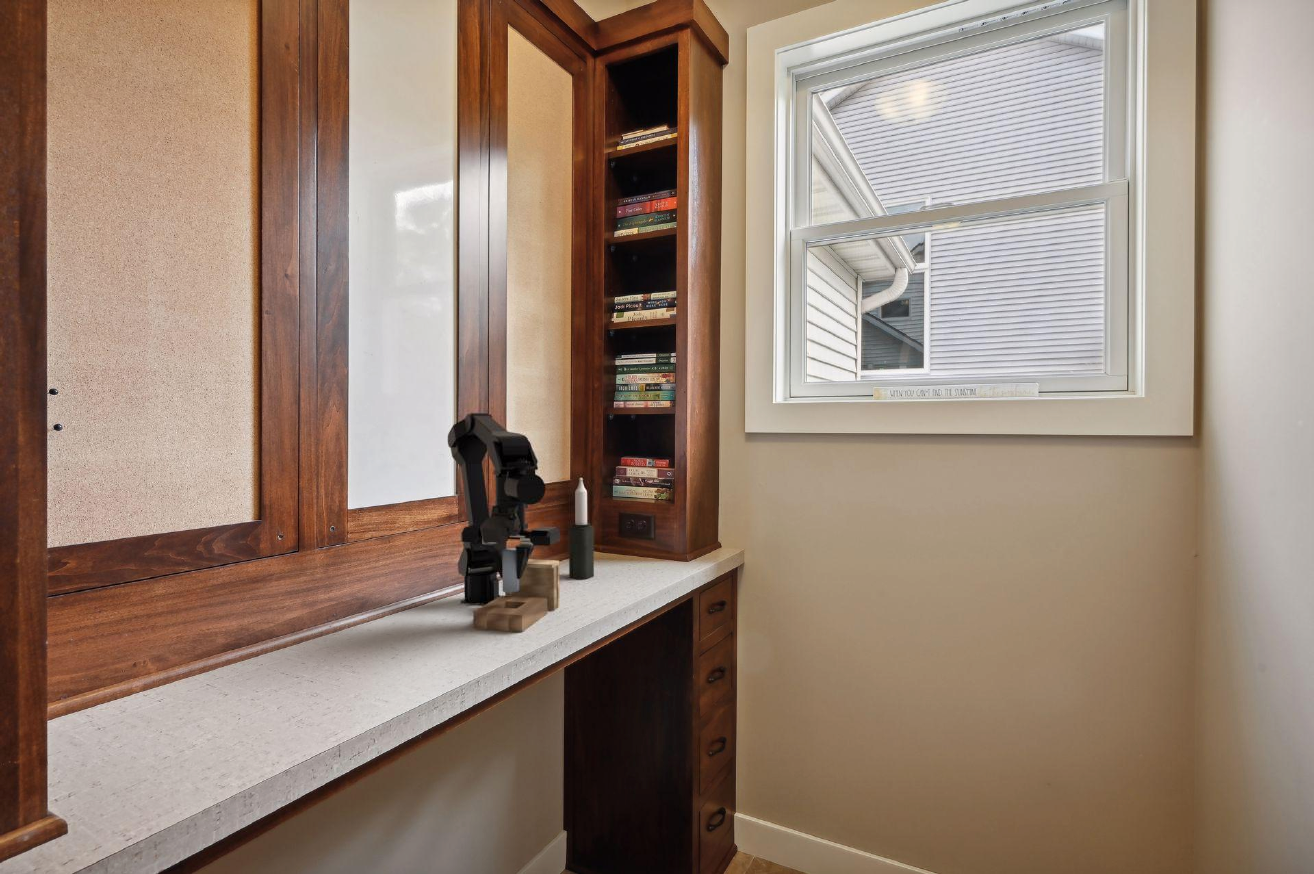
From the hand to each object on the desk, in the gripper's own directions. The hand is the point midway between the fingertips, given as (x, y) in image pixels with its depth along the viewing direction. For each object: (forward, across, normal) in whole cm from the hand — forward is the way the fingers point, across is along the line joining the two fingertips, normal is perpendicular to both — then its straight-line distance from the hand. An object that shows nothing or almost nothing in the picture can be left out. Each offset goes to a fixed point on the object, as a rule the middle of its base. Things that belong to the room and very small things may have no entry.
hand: (510, 578), depth 132 cm
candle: (+9, +1, +38) cm, 39 cm away
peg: (+2, 0, 0) cm, 2 cm away
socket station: (+9, 0, +3) cm, 9 cm away
